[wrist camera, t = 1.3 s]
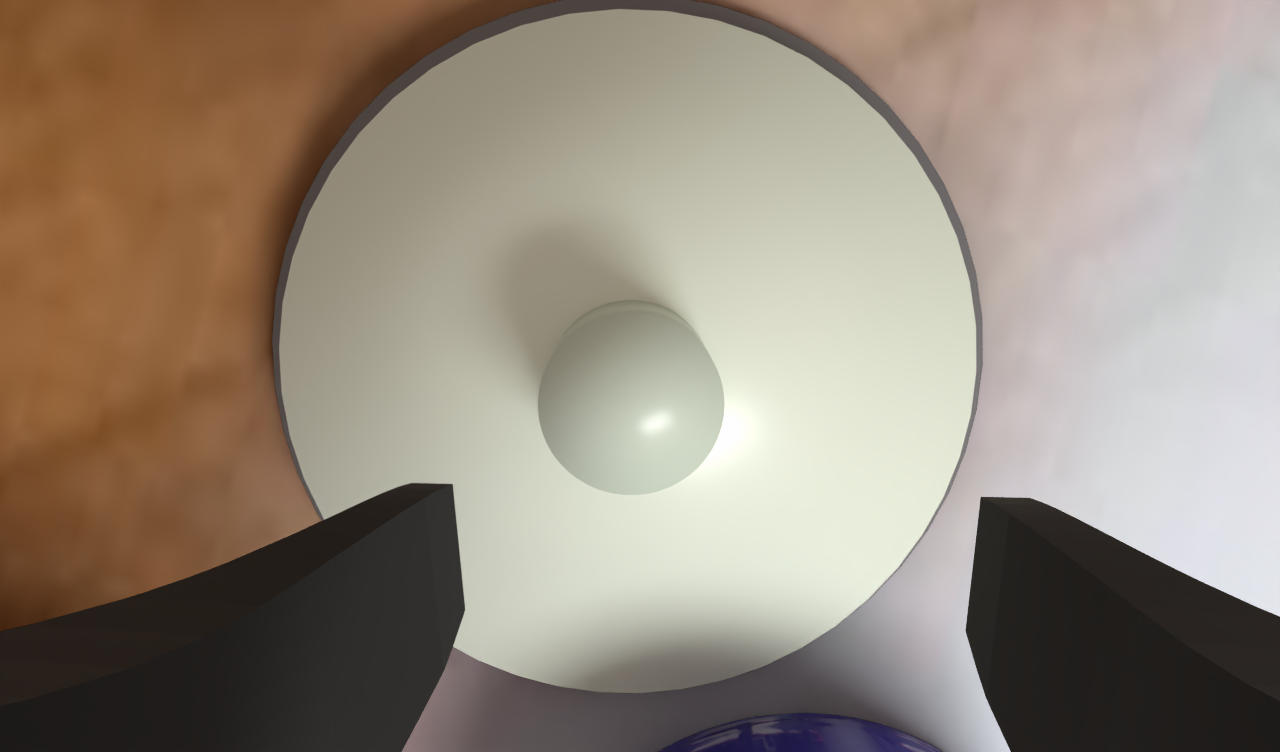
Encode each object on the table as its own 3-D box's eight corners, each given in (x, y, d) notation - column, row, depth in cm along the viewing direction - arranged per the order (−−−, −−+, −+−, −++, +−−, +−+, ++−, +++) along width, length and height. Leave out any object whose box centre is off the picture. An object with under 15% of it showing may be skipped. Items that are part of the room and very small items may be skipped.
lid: (378, 718, 22) (336, 805, 19) (213, 82, 19) (127, 56, 16) (986, 624, 22) (1048, 696, 19) (934, -40, 19) (999, -92, 15)
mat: (369, 728, 23) (364, 737, 22) (196, 66, 19) (186, 63, 19) (998, 630, 23) (1005, 638, 22) (947, -61, 19) (954, -67, 18)
